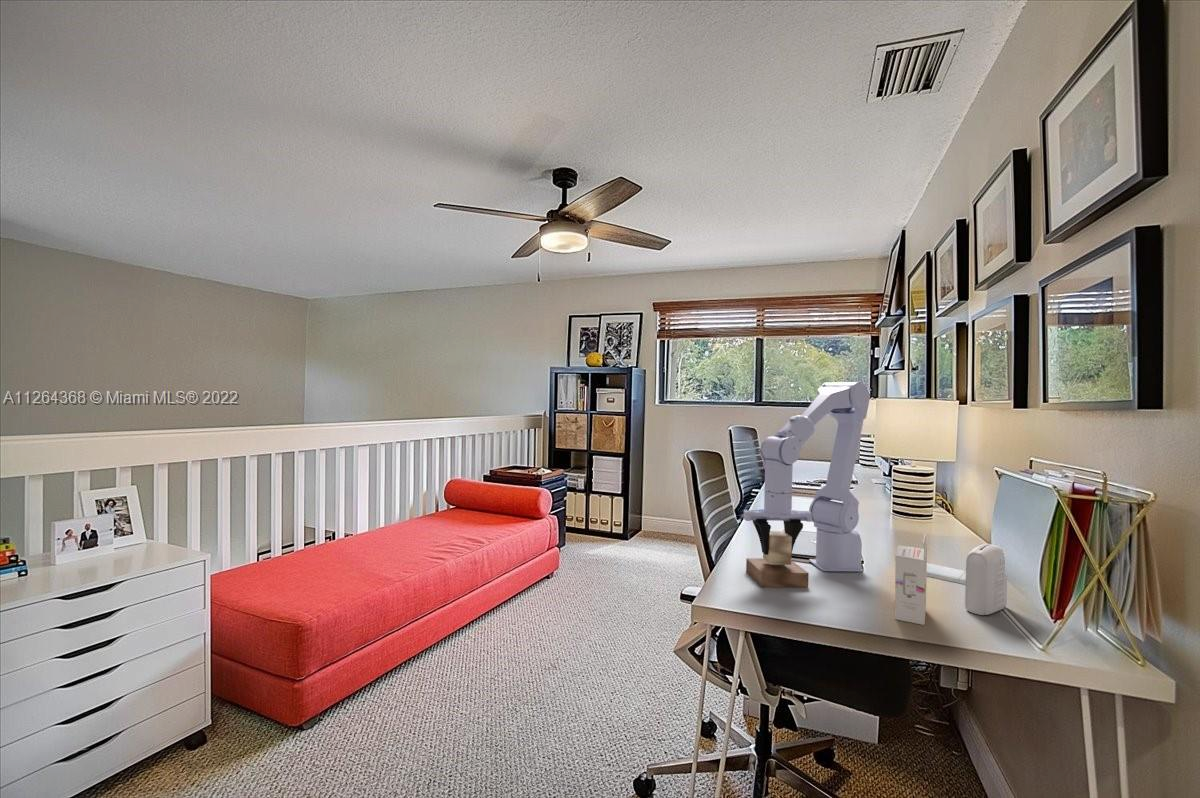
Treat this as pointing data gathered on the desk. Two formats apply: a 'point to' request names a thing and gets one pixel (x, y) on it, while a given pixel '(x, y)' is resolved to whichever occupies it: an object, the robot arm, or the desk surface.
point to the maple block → (779, 548)
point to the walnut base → (776, 574)
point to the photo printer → (985, 580)
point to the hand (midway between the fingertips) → (776, 553)
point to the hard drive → (946, 573)
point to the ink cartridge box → (911, 583)
